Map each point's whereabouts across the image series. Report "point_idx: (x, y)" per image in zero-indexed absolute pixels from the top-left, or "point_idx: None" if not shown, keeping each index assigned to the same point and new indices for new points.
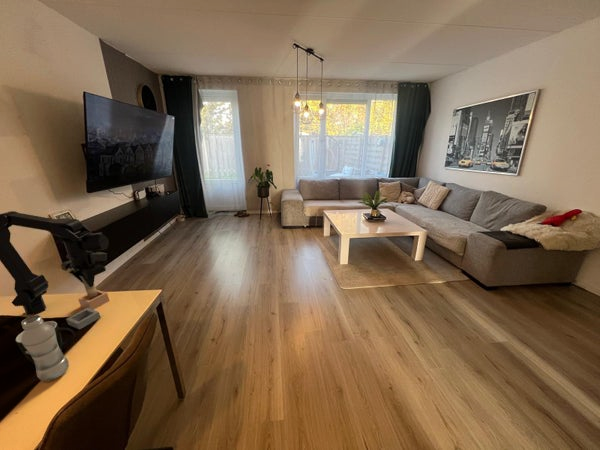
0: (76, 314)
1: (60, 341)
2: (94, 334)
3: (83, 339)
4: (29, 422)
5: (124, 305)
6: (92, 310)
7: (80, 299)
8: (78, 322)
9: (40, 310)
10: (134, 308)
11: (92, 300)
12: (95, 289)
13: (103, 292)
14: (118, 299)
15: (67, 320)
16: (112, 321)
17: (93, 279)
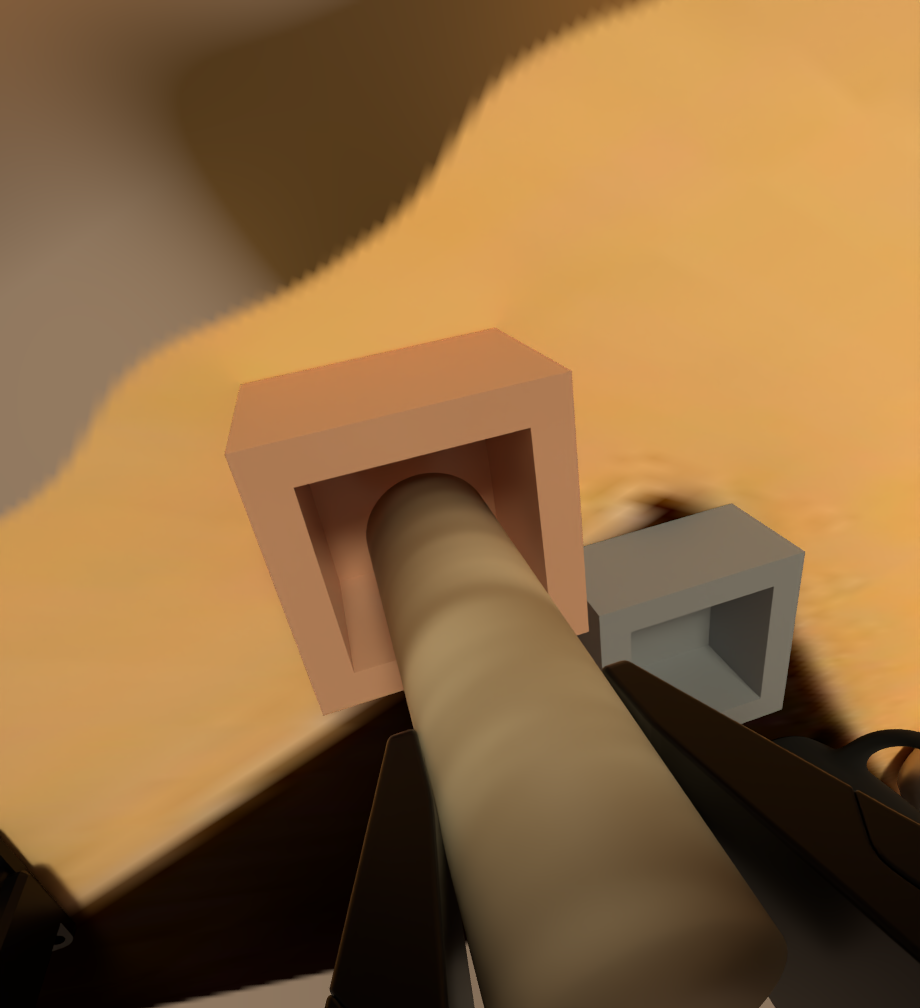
0: None
1: (902, 799)
2: (855, 583)
3: (826, 641)
4: None
5: (741, 234)
6: (710, 591)
7: (390, 693)
8: (772, 701)
9: (36, 926)
10: (916, 190)
11: (583, 583)
12: (524, 567)
13: (489, 408)
14: (511, 207)
15: None
16: (860, 445)
17: (835, 796)
